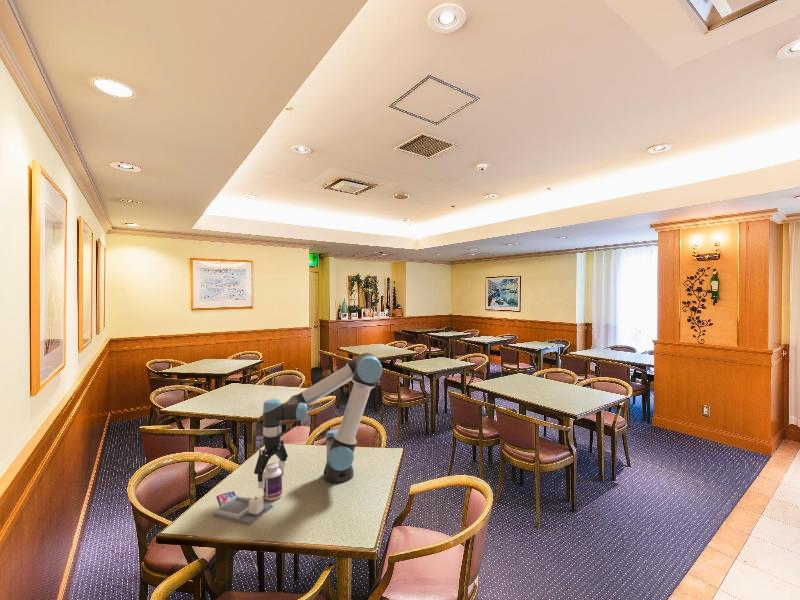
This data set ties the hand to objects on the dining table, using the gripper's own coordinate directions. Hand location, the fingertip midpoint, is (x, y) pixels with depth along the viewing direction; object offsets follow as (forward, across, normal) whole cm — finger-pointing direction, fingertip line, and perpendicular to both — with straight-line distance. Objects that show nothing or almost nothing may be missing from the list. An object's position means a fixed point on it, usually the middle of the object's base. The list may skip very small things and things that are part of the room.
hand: (271, 481), depth 175 cm
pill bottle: (+7, 0, 0) cm, 7 cm away
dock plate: (+7, +14, -4) cm, 16 cm away
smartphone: (+8, +9, -17) cm, 21 cm away
